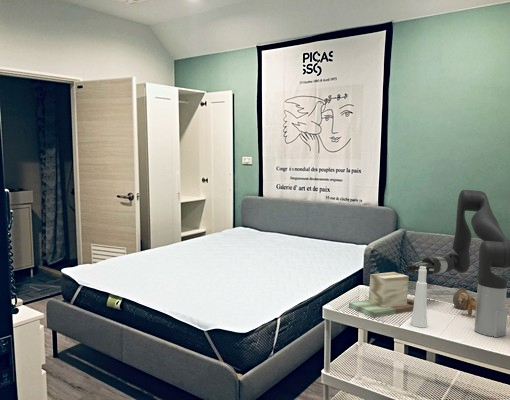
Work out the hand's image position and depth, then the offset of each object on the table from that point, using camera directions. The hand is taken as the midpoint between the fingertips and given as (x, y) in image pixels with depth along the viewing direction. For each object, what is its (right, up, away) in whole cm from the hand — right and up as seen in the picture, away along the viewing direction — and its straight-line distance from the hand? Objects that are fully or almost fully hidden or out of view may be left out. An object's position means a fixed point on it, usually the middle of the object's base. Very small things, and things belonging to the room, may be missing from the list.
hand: (408, 268), depth 189 cm
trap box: (-10, -16, -5) cm, 20 cm away
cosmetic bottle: (-5, -18, -25) cm, 31 cm away
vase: (+23, -18, +1) cm, 29 cm away
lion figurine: (+23, -18, -12) cm, 32 cm away
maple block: (-10, -14, -5) cm, 18 cm away
